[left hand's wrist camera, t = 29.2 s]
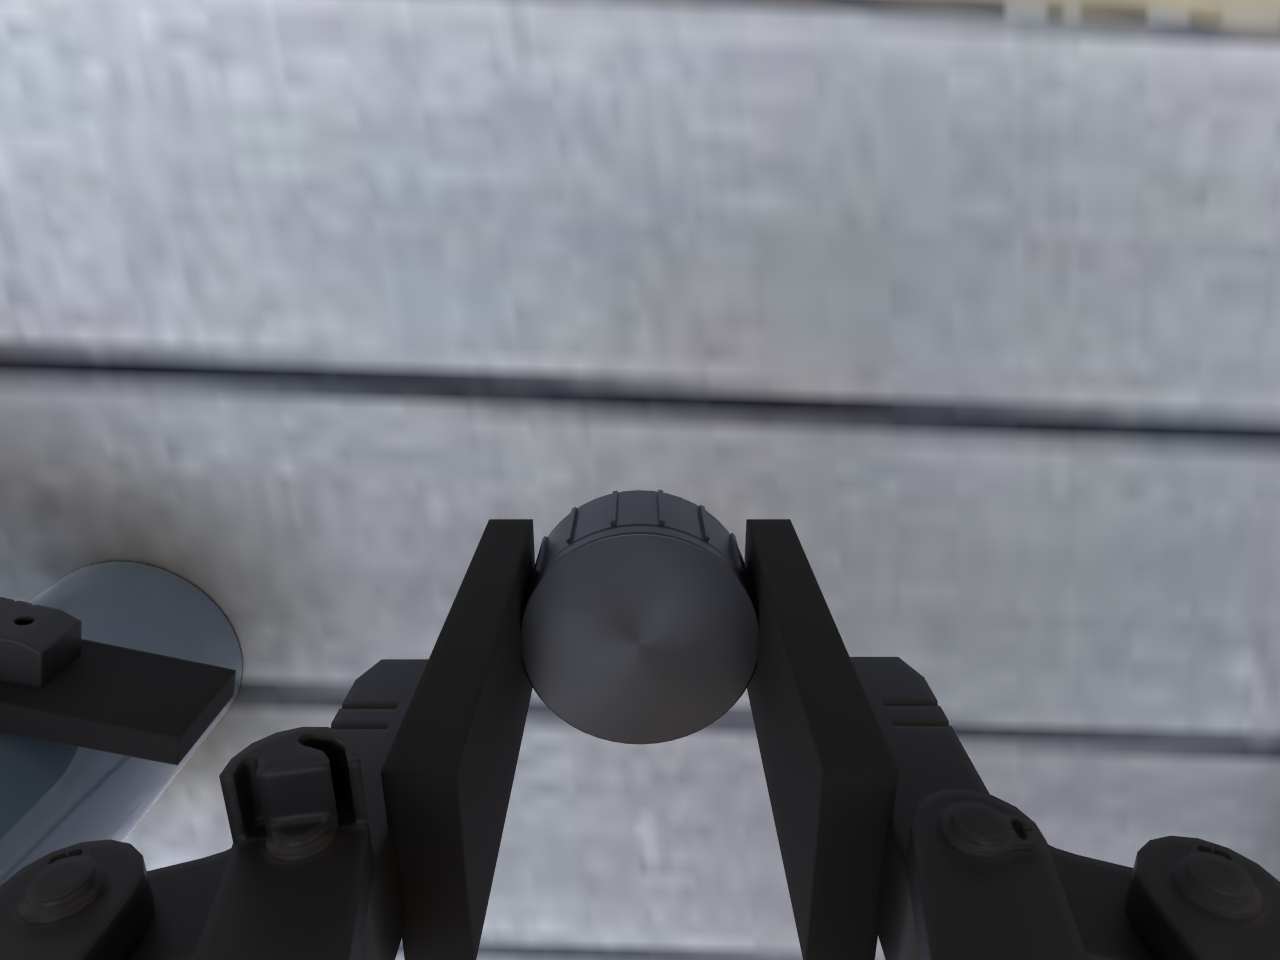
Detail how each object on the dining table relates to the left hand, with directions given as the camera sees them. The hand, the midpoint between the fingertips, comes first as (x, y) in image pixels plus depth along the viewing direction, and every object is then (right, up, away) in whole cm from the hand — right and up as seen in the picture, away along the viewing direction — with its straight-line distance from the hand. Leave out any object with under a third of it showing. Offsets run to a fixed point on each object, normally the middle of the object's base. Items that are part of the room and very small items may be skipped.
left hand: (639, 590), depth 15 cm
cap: (0, 0, -2) cm, 2 cm away
